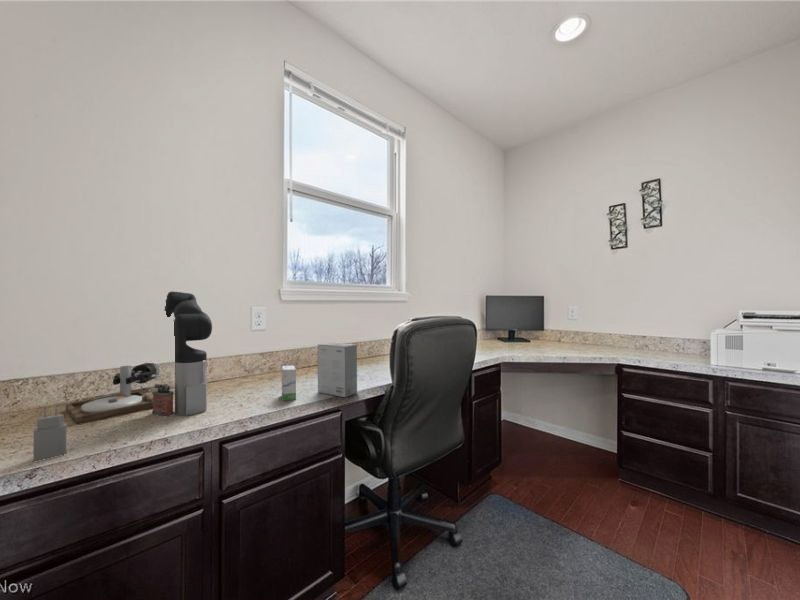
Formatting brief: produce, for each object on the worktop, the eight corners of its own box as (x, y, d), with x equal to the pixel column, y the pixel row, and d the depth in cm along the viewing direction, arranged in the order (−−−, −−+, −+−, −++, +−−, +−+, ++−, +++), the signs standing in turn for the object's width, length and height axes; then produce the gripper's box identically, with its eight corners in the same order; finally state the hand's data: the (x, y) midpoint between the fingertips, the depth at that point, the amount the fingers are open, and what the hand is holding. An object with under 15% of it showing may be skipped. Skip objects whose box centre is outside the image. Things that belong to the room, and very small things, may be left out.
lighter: (176, 413, 110) (176, 383, 110) (166, 417, 107) (166, 386, 107) (159, 411, 113) (159, 382, 113) (149, 414, 109) (149, 384, 110)
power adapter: (34, 457, 79) (34, 407, 79) (66, 450, 83) (66, 403, 83) (33, 462, 77) (33, 411, 77) (66, 454, 81) (66, 405, 81)
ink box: (296, 399, 126) (296, 368, 126) (282, 401, 124) (282, 369, 124) (294, 393, 134) (294, 364, 134) (281, 395, 132) (281, 365, 132)
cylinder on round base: (153, 398, 124) (154, 365, 124) (116, 413, 107) (116, 375, 107) (110, 398, 124) (110, 365, 124) (66, 413, 107) (67, 375, 107)
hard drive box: (357, 393, 134) (357, 344, 134) (345, 398, 128) (345, 346, 128) (330, 388, 143) (330, 342, 143) (316, 392, 136) (316, 344, 136)
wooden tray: (158, 407, 117) (158, 401, 117) (76, 424, 100) (76, 417, 100) (141, 396, 130) (141, 391, 130) (65, 410, 113) (65, 404, 113)
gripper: (127, 363, 135) (98, 372, 118) (166, 362, 138) (142, 370, 121) (127, 382, 135) (98, 393, 118) (166, 380, 137) (143, 390, 121)
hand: (121, 381), depth 119 cm, fingers closed on cylinder on round base, 3 cm apart
